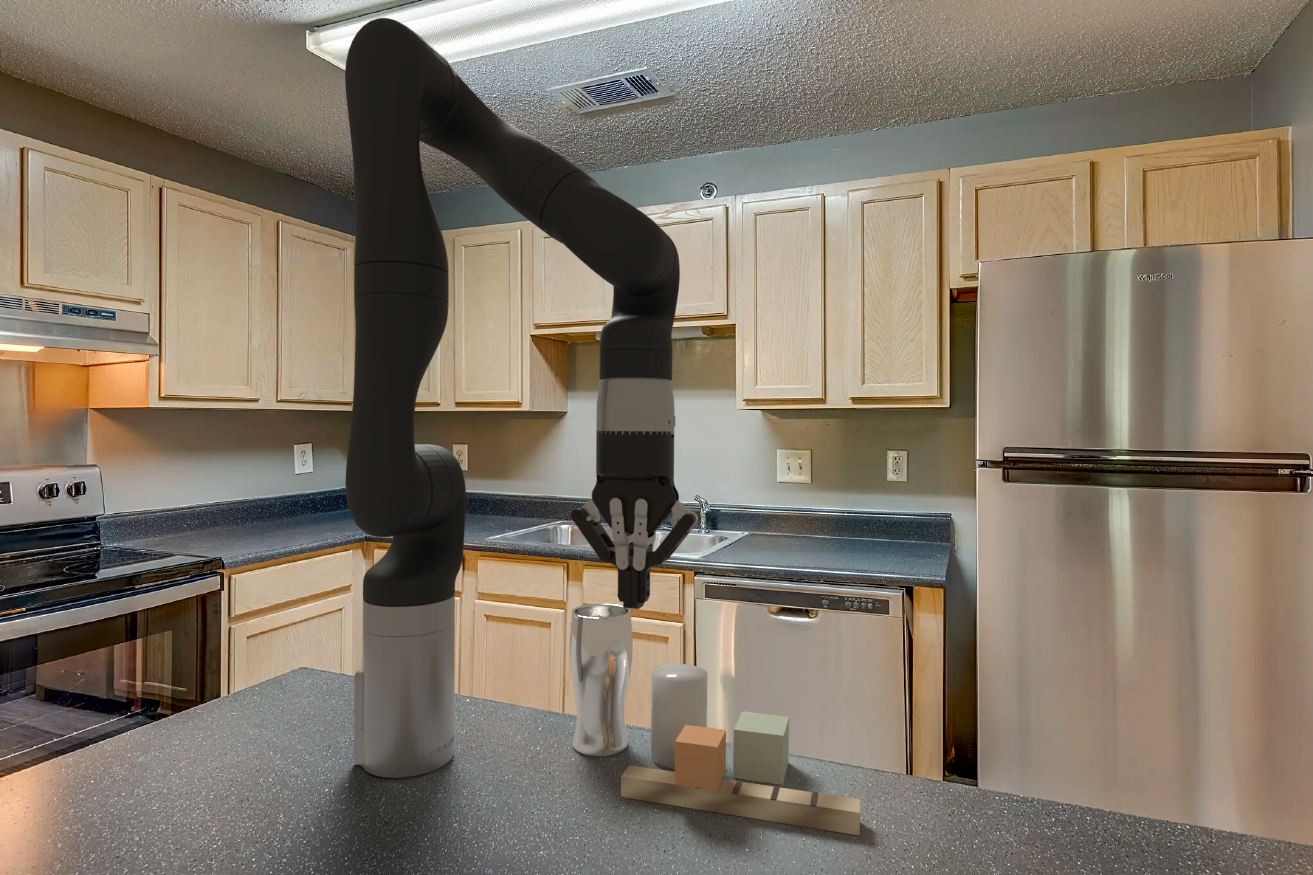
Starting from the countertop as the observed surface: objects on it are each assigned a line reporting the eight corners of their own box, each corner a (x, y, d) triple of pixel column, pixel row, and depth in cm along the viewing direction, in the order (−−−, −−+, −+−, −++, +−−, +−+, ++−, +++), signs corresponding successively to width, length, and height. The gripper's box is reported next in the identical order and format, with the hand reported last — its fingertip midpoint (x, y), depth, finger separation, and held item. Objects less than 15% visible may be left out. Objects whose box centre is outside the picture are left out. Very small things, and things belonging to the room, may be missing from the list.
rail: (620, 796, 70) (621, 775, 70) (629, 784, 73) (629, 763, 73) (859, 835, 64) (859, 811, 64) (860, 820, 67) (860, 798, 67)
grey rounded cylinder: (643, 764, 77) (644, 678, 77) (659, 741, 83) (660, 661, 83) (699, 772, 76) (700, 685, 76) (711, 748, 81) (712, 667, 81)
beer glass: (623, 761, 78) (624, 620, 78) (560, 755, 79) (561, 616, 79) (637, 734, 85) (639, 604, 84) (579, 729, 86) (580, 601, 86)
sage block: (733, 778, 75) (733, 729, 75) (741, 757, 79) (742, 711, 79) (782, 785, 73) (783, 735, 73) (788, 763, 78) (789, 716, 78)
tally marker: (674, 784, 68) (675, 741, 68) (685, 765, 72) (685, 724, 72) (717, 790, 67) (717, 746, 67) (725, 771, 71) (726, 729, 71)
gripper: (556, 427, 69) (554, 610, 70) (692, 428, 66) (691, 622, 66) (586, 427, 77) (584, 593, 77) (710, 428, 73) (709, 603, 73)
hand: (634, 606), depth 71 cm, fingers closed
